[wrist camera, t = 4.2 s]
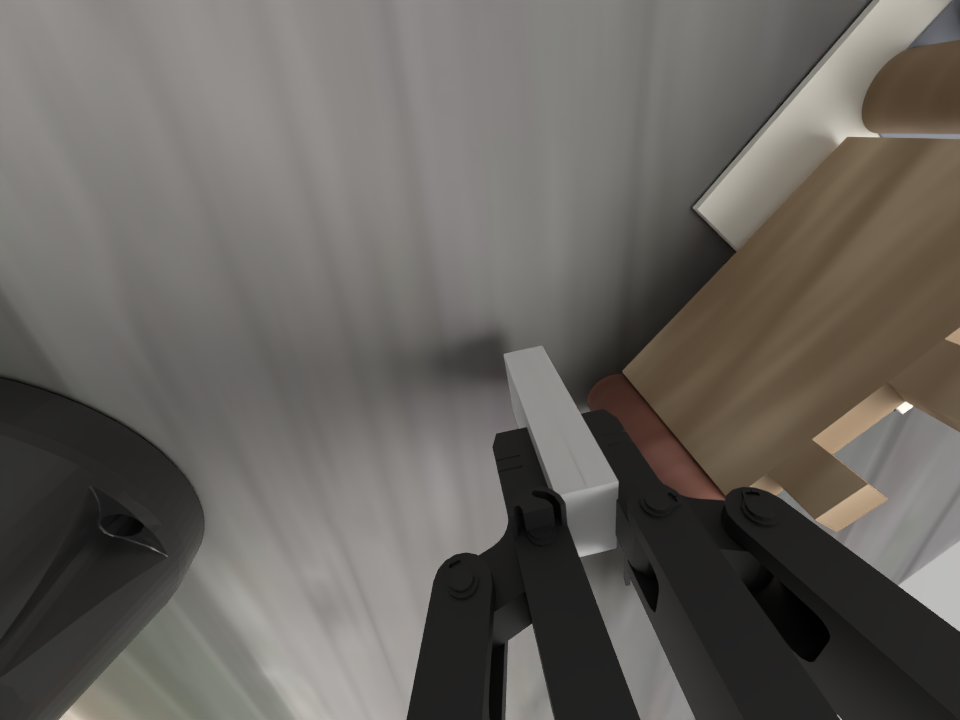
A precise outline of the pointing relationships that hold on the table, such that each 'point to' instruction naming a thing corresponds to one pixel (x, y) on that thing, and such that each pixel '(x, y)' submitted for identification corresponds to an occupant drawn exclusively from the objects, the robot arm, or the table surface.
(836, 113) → the card
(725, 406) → the swing panel
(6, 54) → the table surface
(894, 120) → the wooden castle wall
